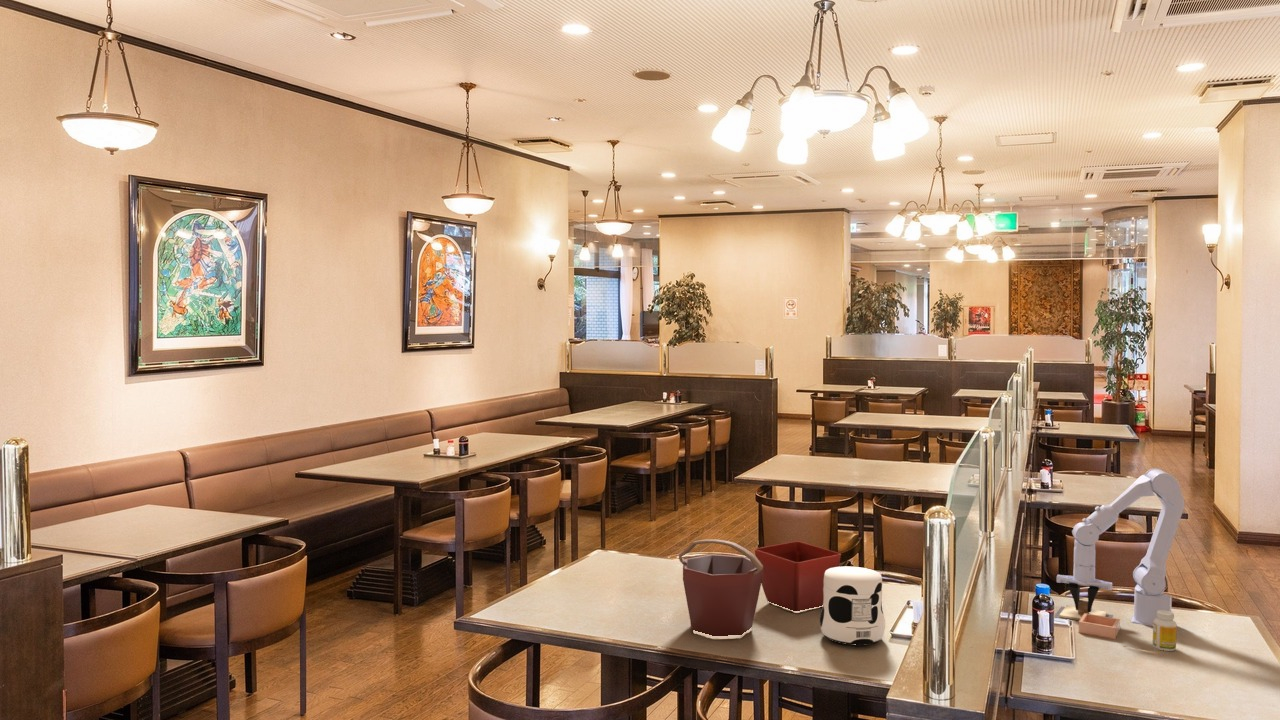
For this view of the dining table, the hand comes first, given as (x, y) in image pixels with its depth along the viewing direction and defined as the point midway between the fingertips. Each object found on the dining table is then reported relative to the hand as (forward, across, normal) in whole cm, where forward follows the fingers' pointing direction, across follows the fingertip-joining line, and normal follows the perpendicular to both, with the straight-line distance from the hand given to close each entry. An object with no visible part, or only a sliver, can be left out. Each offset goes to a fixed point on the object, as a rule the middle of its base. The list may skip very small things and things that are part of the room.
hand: (1083, 610), depth 264 cm
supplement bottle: (+2, +22, -15) cm, 27 cm away
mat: (+2, 0, 0) cm, 2 cm away
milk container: (+2, -48, -57) cm, 75 cm away
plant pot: (+2, -73, -39) cm, 83 cm away
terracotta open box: (+2, +6, -12) cm, 14 cm away
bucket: (+2, -81, -71) cm, 108 cm away
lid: (+2, 0, 0) cm, 2 cm away
